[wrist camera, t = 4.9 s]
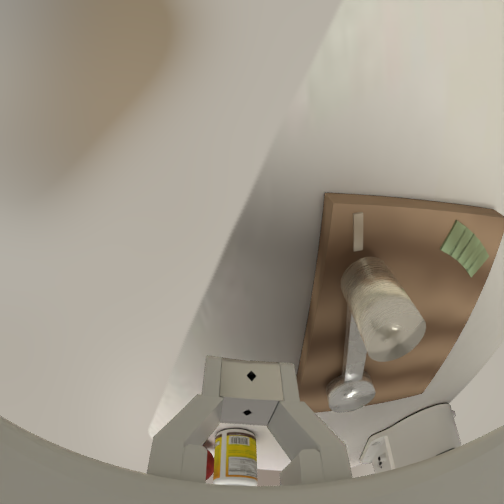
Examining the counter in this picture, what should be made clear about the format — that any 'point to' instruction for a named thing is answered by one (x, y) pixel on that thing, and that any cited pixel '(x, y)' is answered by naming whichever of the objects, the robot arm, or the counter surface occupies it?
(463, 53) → the counter surface
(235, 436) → the supplement bottle
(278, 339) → the counter surface
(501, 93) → the counter surface
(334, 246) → the board
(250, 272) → the counter surface
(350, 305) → the silver measuring spoon
